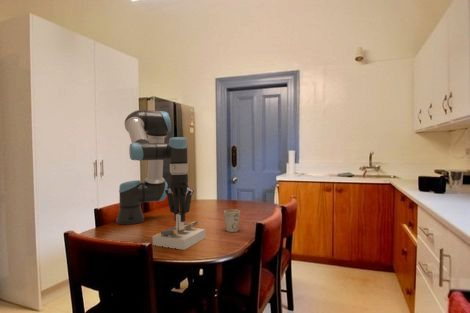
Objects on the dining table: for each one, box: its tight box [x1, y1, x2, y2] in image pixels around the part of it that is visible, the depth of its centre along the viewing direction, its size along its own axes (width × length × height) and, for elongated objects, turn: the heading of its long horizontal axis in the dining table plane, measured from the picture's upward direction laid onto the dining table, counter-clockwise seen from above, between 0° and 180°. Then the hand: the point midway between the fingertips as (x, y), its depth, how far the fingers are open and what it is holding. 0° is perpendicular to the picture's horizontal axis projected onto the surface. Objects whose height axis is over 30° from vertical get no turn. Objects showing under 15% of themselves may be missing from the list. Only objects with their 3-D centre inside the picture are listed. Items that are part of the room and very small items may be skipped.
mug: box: [223, 208, 241, 233], centre depth 152 cm, size 8×13×10 cm, turn 27°
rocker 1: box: [160, 228, 184, 235], centre depth 126 cm, size 9×4×1 cm, turn 67°
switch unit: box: [152, 225, 206, 251], centre depth 132 cm, size 16×18×5 cm
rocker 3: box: [184, 220, 199, 228], centre depth 138 cm, size 9×4×1 cm, turn 67°
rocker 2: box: [169, 224, 192, 230], centre depth 132 cm, size 9×4×1 cm, turn 67°
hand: (180, 229), depth 125 cm, fingers closed, pressing on rocker 1
